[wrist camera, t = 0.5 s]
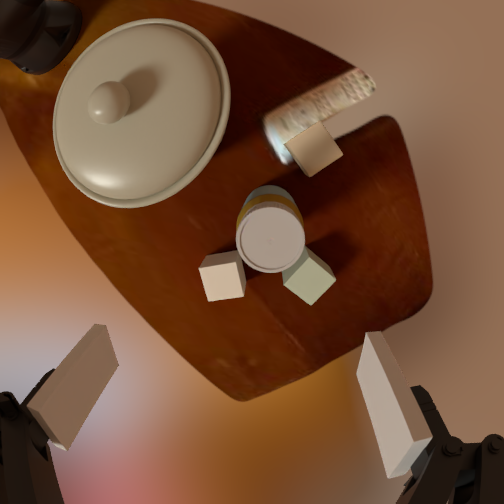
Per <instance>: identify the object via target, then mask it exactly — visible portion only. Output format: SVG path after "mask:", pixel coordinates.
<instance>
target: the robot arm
mask: <svg viewBox="0 0 504 504" xmlns="http://www.w3.org/2000/svg"><path fill="white" fill-rule="evenodd" d="M81 23H82V15H81V11H80V9H79V8H78V7H77V6H75V5H74V4H72V3H70V2H67V1H53V0H0V58H3V59H8V60H10V61H11V62H12V63H13V64H15V65H16V66H17V67H18V68H19V69H21V70H22V71H23V72H25V73H28V74H33V75H40V74H43V73H46V72H48V71H49V70H51V69H52V68H54V67H55V66H56V65H57V64H58V63H59V62H60V61H61V60H62V59H63V58H64V57H65V56H66V55H67V53H68V52H69V50H70V49H71V47H72V46H73V44H74V42H75V41H76V39H77V36H78V34H79V31H80V28H81ZM118 366H119V364H118V361H117V358H116V356H115V352H114V350H113V346H112V343H111V340H110V337H109V333H108V330H107V327H106V325H99V324H94V326H93V327H92V328H91V329H90V330H89V331H88V332H87V333H86V335H85V336H84V337H83V338H82V339H81V340H80V341H79V342H78V344H77V345H76V346H75V347H74V348H73V349H72V350H71V352H70V353H69V354H68V355H67V356H66V358H65V359H64V360H63V361H62V362H61V364H60V365H59V366H58V367H57V368H56V369H52V370H50V371H49V372H47V373H46V374H45V375H44V376H43V377H42V378H41V380H40V382H38V383H37V385H36V387H34V388H33V389H32V391H31V392H30V393H29V394H28V396H27V397H26V398H25V399H24V401H23V402H22V403H21V404H19V403H18V401H17V400H16V398H15V397H14V395H13V394H12V393H11V392H2V393H0V504H64V501H63V498H62V494H61V491H60V488H59V484H58V481H57V477H56V473H55V470H54V465H53V462H52V457H51V452H50V447H49V445H48V444H47V441H48V439H50V440H51V441H52V443H53V444H54V445H55V446H56V447H59V448H61V449H63V450H65V451H68V450H69V448H70V446H71V444H72V442H73V441H74V439H75V437H76V435H77V434H78V432H79V430H80V428H81V427H82V425H83V423H84V421H85V420H86V418H87V416H88V415H89V413H90V411H91V409H92V408H93V406H94V405H95V403H96V401H97V400H98V398H99V396H100V394H101V393H102V391H103V390H104V388H105V387H106V385H107V383H108V382H109V380H110V379H111V377H112V375H113V374H114V372H115V371H116V369H117V367H118ZM356 375H357V377H358V381H359V384H360V387H361V389H362V393H363V396H364V399H365V402H366V405H367V408H368V412H369V415H370V418H371V421H372V424H373V428H374V431H375V435H376V438H377V442H378V445H379V448H380V452H381V456H382V459H383V463H384V466H385V470H386V474H387V477H388V478H393V477H397V476H401V475H405V474H406V473H407V471H408V470H409V469H410V468H411V470H412V473H413V475H412V476H411V477H410V478H409V480H408V481H407V482H406V483H405V484H404V486H406V487H405V489H404V490H403V492H402V494H401V495H400V497H399V499H398V500H397V502H396V504H446V503H447V501H448V504H504V438H503V437H501V436H500V435H497V434H491V435H488V436H487V437H485V439H484V440H483V441H482V442H481V443H463V442H462V441H461V440H460V439H459V438H457V437H453V436H451V435H450V434H449V432H448V430H447V428H446V426H445V424H444V422H443V420H442V418H441V416H440V414H439V412H438V410H436V406H435V404H434V403H433V400H432V398H431V396H430V395H429V393H428V392H427V391H426V390H425V389H424V388H423V387H421V386H420V385H419V386H414V387H409V385H408V383H407V381H406V379H405V377H404V375H403V373H402V371H401V369H400V367H399V365H398V363H397V361H396V360H395V357H394V355H393V354H392V352H391V350H390V348H389V346H388V344H387V342H386V341H385V339H384V337H383V336H382V333H381V331H380V332H366V336H365V340H364V345H363V349H362V354H361V358H360V362H359V366H358V370H357V374H356ZM448 499H449V500H448Z"/></svg>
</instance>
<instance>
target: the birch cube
mask: <svg viewBox="0 0 504 504" xmlns="http://www.w3.org/2000/svg"><path fill="white" fill-rule="evenodd" d="M284 146H285V147H286V148H287V150H288V151H289V152H290V154H291V155H292V157H293V158H294V159H295V161H296V162H297V164H298V165H299V166H300V168H301V169H302V171H303V172H304V174H305V175H307V176H309V177H311V176H313V175H314V174H316V173H317V172H319V171H320V170H322V169H323V168H325V167H326V166H328V165H329V164H331V163H332V162H334V161H335V160H337V159H338V158H340V157H341V156H343V153H342V152H341V150H340V149H339V147H338V146H337V144H336V143H335V141H334V140H333V138H332V137H331V136H330V134H329V133H328V131H327V130H326V128H325V127H324V125H323V124H322V123H321V121H318V122H317V123H315V124H314V125H312V126H310V127H309V128H307V129H306V130H304V131H303V132H301V133H300V134H298V135H297V136H295V137H294V138H292V139H291V140H289V141H288V142H286V143H285V144H284Z"/></svg>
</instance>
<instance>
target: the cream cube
mask: <svg viewBox="0 0 504 504" xmlns="http://www.w3.org/2000/svg"><path fill="white" fill-rule="evenodd" d="M199 270H200V274H201V278H202V281H203V285H204V288H205V292H206V295H207V299H208V301H215V300H222V299H229V298H236V297H243V296H244V292H245V286H246V277H245V273H244V268H243V264H242V260H241V256H240V254H239V251H238V250H236V251H230V252H224V253H219V254H213V255H207V256H206V257H205V259H204V260H203V262H202V264H201V265H200V267H199Z"/></svg>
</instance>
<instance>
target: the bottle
mask: <svg viewBox="0 0 504 504" xmlns="http://www.w3.org/2000/svg"><path fill="white" fill-rule="evenodd" d="M304 235H305V234H304V225H303V218H302V215H301V213H300V211H299V209H298V207H297V206H296V204H295V202H294V200H293V198H292V197H291V195H290V194H289V193H288V192H287V191H286V190H284V189H282V188H280V187H278V186H273V185H266V186H261V187H259V188H257V189H255V190H254V191H253V192H252V193H251V194H250V195H249V196H248V197H247V199H246V201H245V203H244V205H243V207H242V210H241V212H240V214H239V216H238V220H237V234H236V236H237V237H236V244H237V248H238V251H239V254H240V256H241V257H242V259H243V260H244V261H245V262H246V263H247V264H248V265H249V266H250V267H252V268H254V269H256V270H258V271H261V272H266V273H275V272H280V271H283V270H285V269H287V268H289V267H291V266H292V265H293V264H294V263H295V262H296V261H297V260H298V259H299V257H300V256H301V254H302V251H303V249H304V243H305V236H304Z"/></svg>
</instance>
